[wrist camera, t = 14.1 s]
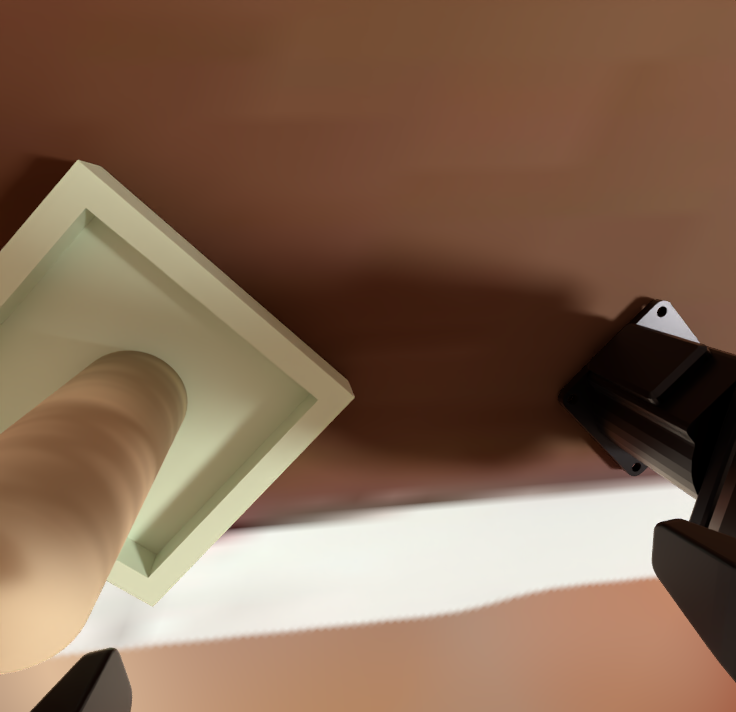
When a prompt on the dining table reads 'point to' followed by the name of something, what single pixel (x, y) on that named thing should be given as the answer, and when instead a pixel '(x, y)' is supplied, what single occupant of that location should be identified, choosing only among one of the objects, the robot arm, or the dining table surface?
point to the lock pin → (77, 495)
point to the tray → (172, 345)
